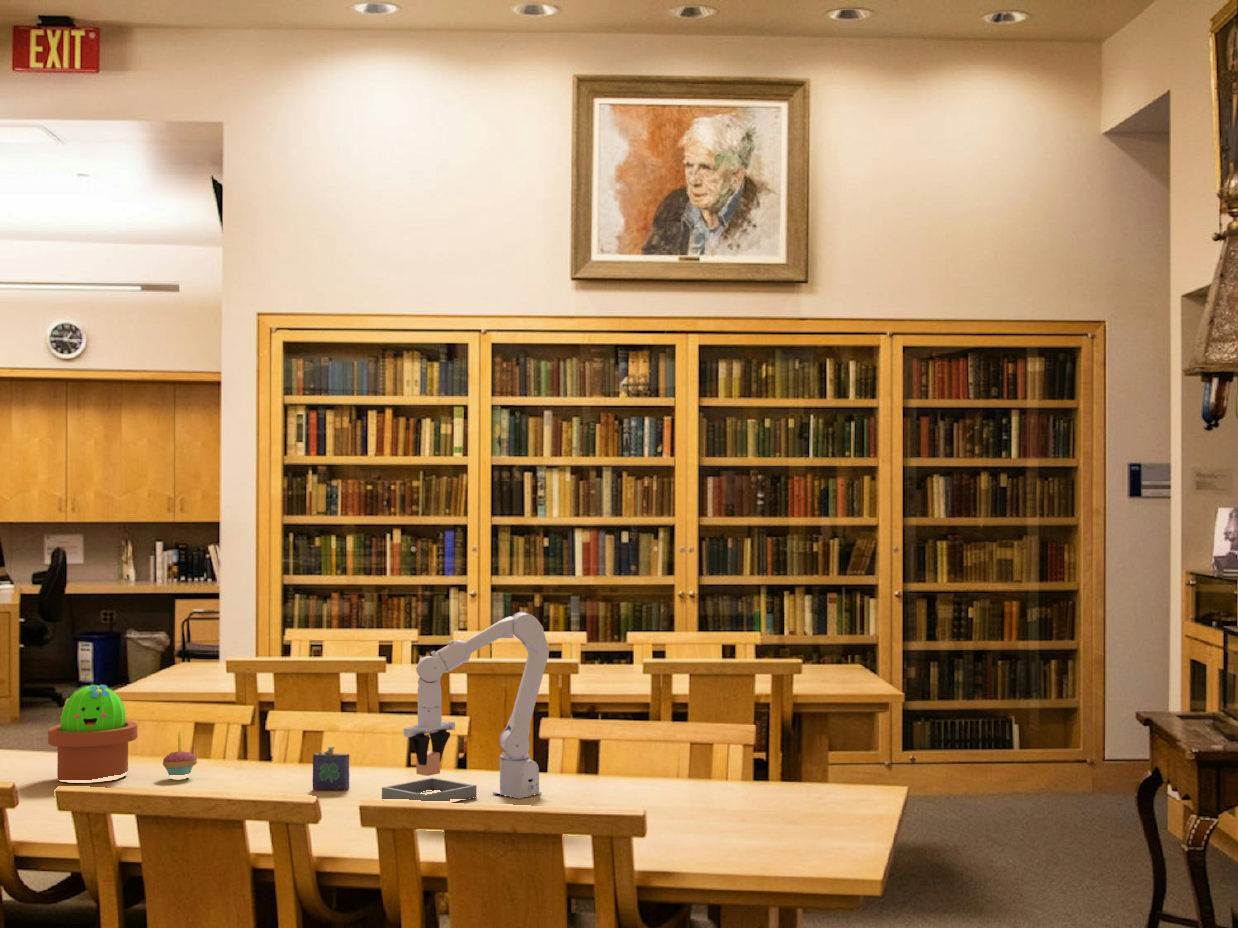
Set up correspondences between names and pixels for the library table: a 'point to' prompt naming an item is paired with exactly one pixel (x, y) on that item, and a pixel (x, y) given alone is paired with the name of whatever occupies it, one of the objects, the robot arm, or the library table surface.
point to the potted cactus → (92, 735)
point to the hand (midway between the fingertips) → (429, 763)
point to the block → (429, 764)
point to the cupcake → (179, 761)
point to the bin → (416, 787)
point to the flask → (330, 771)
